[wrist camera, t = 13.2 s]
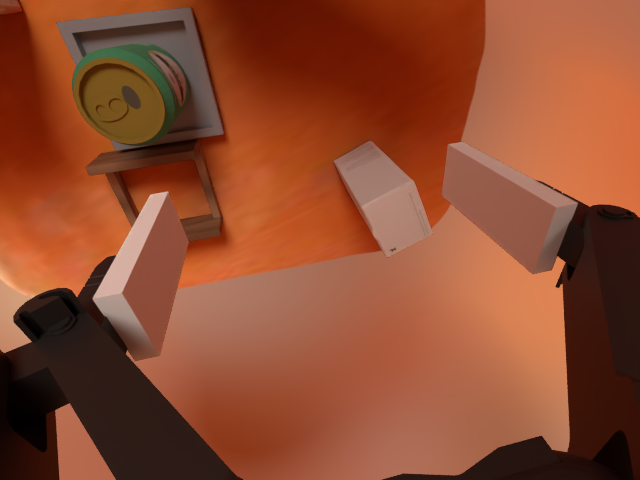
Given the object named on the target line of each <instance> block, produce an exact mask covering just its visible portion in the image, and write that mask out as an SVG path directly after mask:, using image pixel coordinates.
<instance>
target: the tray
mask: <svg viewBox="0 0 640 480" xmlns="http://www.w3.org/2000/svg"><path fill="white" fill-rule="evenodd" d="M56 24H57V26H58V28H59V30H60V33H61V35H62V37H63V39H64V41H65V43H66V45H67V48H68V50H69V52H70V54H71V56H72V58H73V60H74V63H75V65H76V66H77V65H78V63H79V62H80V60H81V59H83V58H84V57H85V56H86V55H88V54H89V53H91V52H93V51H96V50H99V49H104V48H110V47H115V46H121V45H127V44H132V43H149V44H153V45H155V46H158V47H160V48H162V49H164V50H165V51H167V52H168V53H170V54H171V55H172V56H173V57H174V58H175V59H176V60H177V61H178V62H179V64H180V65H181V67H182V68H183V70H184V72H185V74H186V76H187V80H188V84H189V98H188V102H187V105H186V106H185V108H184V110H183V111H182V113H181V114H180V115H179V117H178V118H177V120H176V121H175V122H174V124H173V125H172V127H171V128H170V130H169V131H168V132H167V133H166V134H165V136H163V137H162V138H161V139H160V140H158V141H156V142H154V143H151V144H148V145H143V146H131V145H125V144H121V143H118V142H115V141H113V140H111V139H110V140H111V142H112V144H113V147H114V149H115V151H118V150H124V149H131V148H137V147H144V146H150V145H157V144H163V143H170V142H176V141H183V140H189V139H196V138H202V137H209V136H215V135H222V134H224V127H223V123H222V119H221V116H220V112H219V108H218V104H217V100H216V96H215V93H214V89H213V85H212V81H211V77H210V74H209V70H208V66H207V62H206V58H205V54H204V51H203V47H202V43H201V39H200V35H199V32H198V28H197V24H196V20H195V16H194V12H193V9H192V8H191V7H186V8H178V9H169V10H160V11H151V12H142V13H133V14H124V15H116V16H107V17H98V18H89V19H80V20H71V21H62V22H56Z"/></svg>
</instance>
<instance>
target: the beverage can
mask: <svg viewBox="0 0 640 480" xmlns="http://www.w3.org/2000/svg"><path fill="white" fill-rule="evenodd" d="M72 90H73V96H74V99H75V102H76V105H77V107H78V109H79V111H80V113H81V115H82V116H83V118H84V119H85V120H86V121H87V123H88V124H89V125H90V126H91V127H92V128H93V129H95V130H96V131H97V132H98V133H100V134H101V135H103V136H105V137H107V138H108V139H111V140H113V141H115V142H118V143H121V144H125V145H131V146H143V145H148V144H151V143H154V142H156V141H158V140H160V139H161V138H162V137H163V136H165V134H166V133H167V132H168V131H169V130H170V128H171V127H172V125H173V124H174V122H175V121H176V120H177V118H178V117H179V115H180V114H181V113H182V111H183V110H184V108H185V106H186V105H187V102H188V98H189V84H188V80H187V76H186V74H185V72H184V70H183V68H182V67H181V65H180V64H179V62H178V61H177V60H176V59H175V58H174V57H173V56H172V55H171V54H170V53H168V52H167V51H165V50H164V49H162V48H160V47H158V46H155V45H153V44H149V43H132V44H127V45H121V46H115V47H110V48H104V49H99V50H96V51H93V52H91V53H89V54H88V55H86V56H85V57H84V58H83V59H81V60H80V62H79V63H78V65H77V66H76V68H75V71H74V73H73V79H72Z"/></svg>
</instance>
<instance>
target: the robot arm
mask: <svg viewBox="0 0 640 480" xmlns="http://www.w3.org/2000/svg"><path fill="white" fill-rule="evenodd" d="M442 196H443V197H444V198H445V199H446V200H447V201H448V202H450V203H451V204H452V205H453V206H454V207H455V208H457V209H458V210H459V211H460V212H461V213H462V214H463V215H465V216H466V217H467V218H468V219H469V220H470V221H472V222H473V223H474V224H475V225H476V226H477V227H479V228H480V229H481V230H482V231H483V232H484V233H485V234H487V235H488V236H489V237H490V238H491V239H493V240H494V241H495V242H496V243H497V244H498V245H499V246H500V247H502V248H503V249H504V250H506V252H507V253H509V254H510V255H511V256H512V257H513V258H514V259H516V260H517V261H518V262H519V263H520V264H521V265H523V266H524V267H525V268H526V269H527V270H528V271H529V272H531V273H532V274H536V273H541V272H545V271H550V270H552V268H553V266H554V263H555V261H556V258H557V256H559V257H560V258H561V259H562V260H564V261H565V262H566V263H565V265H564V268H563V270H562V272H561V275H560V277H559V279H558V282H557V284H556V287H557V288H559V287H560V285H561V284H563V298H564V299H563V301H564V321H565V343H566V363H567V385H568V406H569V426H570V442H569V448H568V452H562V451H556V450H552V449H551V448H550V446H549V445H548V444H547V442H546V441H545V440H544V438H543V437H542V436H539V437H535V438H531V439H528V440H524V441H521V442H517V443H514V444H510V445H506V446H502V447H499V448H497V449H496V450H494V451H493V452H492V453H490V454H489V455H487V456H486V457H485V458H483V459H482V460H480V461H479V462H478V463H476V464H475V465H474V466H472V467H471V468H469V469H468V470H467V471H465V472H464V473H462V474H460V475H455V476H451V475H450V476H449V475H423V474H401V475H397V476H393V477H390V478H386V479H383V480H640V218H639V217H638V216H637V215H636V214H635V213H633V212H631V211H629V210H627V209H624V208H621V207H618V206H612V205H593V206H591V207H589V206H587V205H585V204H583V203H581V202H580V201H578V200H576V199H574V198H572V197H570V196H568V195H566V194H564V193H563V194H562V192H561V191H559V190H557V189H553V187H551V186H549V185H547V184H545V183H543V182H541V181H537V180H534V179H532V178H530V177H528V176H526V175H524V174H522V173H521V172H519V171H517V170H515V169H513V168H511V167H509V166H507V165H506V164H504V163H502V162H500V161H498V160H496V159H494V158H492V157H491V156H489V155H487V154H485V153H483V152H481V151H479V150H477V149H476V148H474V147H472V146H470V145H468V144H466V143H464V142H458V143H452V144H448V148H447V156H446V164H445V172H444V180H443V188H442ZM188 244H189V241H188V239H187V236H186V234H185V231H184V229H183V226H182V224H181V221H180V219H179V216H178V214H177V211H176V209H175V206H174V204H173V201H172V199H171V196H170V194H169V191H168V192H162V193H156V194H150V196H149V198H148V200H147V202H146V203H145V205H144V207H143V209H142V211H141V212H140V214H139V216H138V218H137V220H136V221H135V223H134V225H133V227H132V229H131V230H130V232H129V234H128V236H127V238H126V239H125V241H124V243H123V245H122V247H121V248H120V250H119V252H118V254H117V255H116V256H110V257H107V258H106V259H104V260H103V261H102V262H101V263H100V264H99V265H97V266H96V268H95V269H94V271H93V272H92V274H91V276H90V279H88V281H87V282H86V284H85V287H83V289H82V290H81V292H80V294H79V295H78V297H76V296H75V294H74V293H73V291H72V290H70V289H68V288H57V289H53V290H49V291H46V292H44V293H41V294H39V295H37V296H35V297H33V298H32V299H30V300H29V301H27V302H26V303H24V305H22V306H21V307H20V308H19V309H18V310H17V312H16V313H15V315H14V317H13V318H14V323H15V324H16V325H17V326H18V327H19V328H20V329H21V330H22V331H23V332H24V334H25V335H26V336H27V337H28V338H29V339H30V340H31V341H32V342H31V343H28V344H26V345H24V346H21V347H18V348H16V349H14V350H11V351H9V352H6V353H3V352H2V351H1V350H0V480H59V466H58V450H57V433H56V416H55V410H56V409H58V408H60V407H62V406H64V405H66V404H69V403H70V404H71V406H72V408H73V409H74V411H75V413H76V414H77V416H78V418H79V419H80V421H81V422H82V424H83V426H84V427H85V429H86V431H87V432H88V434H89V436H90V437H91V439H92V440H93V442H94V444H95V446H96V447H97V449H98V450H99V452H100V454H101V456H102V457H103V459H104V460H105V462H106V464H107V465H108V467H109V469H110V470H111V472H112V474H113V475H114V477H115V479H116V480H243V479H242V478H240V477H237V476H236V475H235V474H234V473H233V472H232V471H231V470H230V469H229V468H228V466H227V465H226V464H225V463H224V462H223V461H222V460H221V459H220V458H219V457H218V455H217V454H216V453H215V452H214V451H213V450H212V449H211V448H210V446H209V445H207V443H206V442H205V441H204V440H203V439H202V438H201V437H200V436H199V434H198V433H197V432H196V431H195V430H194V429H193V428H192V427H191V426H190V425H189V424H188V422H187V421H186V420H185V419H184V418H183V417H182V416H181V415H180V414H179V412H178V411H177V410H176V409H175V408H174V407H173V406H172V405H171V404H170V402H169V401H168V400H167V399H166V398H165V397H164V396H163V395H162V394H161V393H160V391H159V390H158V389H157V388H156V387H155V386H154V385H153V384H152V383H151V382H150V380H149V379H147V377H146V376H145V375H144V374H143V373H142V372H141V370H140V369H139V368H138V367H137V366H136V365H135V364H134V363H133V362H132V361H131V359H130V358H129V357H128V356H127V355H126V352H127V350H128V352H129V353H130V355H131V356H132V357H133V359H134V360H135V361H138V360H143V359H147V358H152V357H157V356H160V353H161V349H162V345H163V341H164V338H165V334H166V330H167V326H168V322H169V318H170V314H171V310H172V306H173V303H174V298H175V295H176V291H177V287H178V283H179V279H180V275H181V271H182V268H183V264H184V260H185V256H186V252H187V248H188Z"/></svg>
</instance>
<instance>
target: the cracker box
mask: <svg viewBox="0 0 640 480" xmlns="http://www.w3.org/2000/svg"><path fill="white" fill-rule="evenodd" d="M22 11H23V10H22V8H21V5H20V4H19V2H18V0H0V15H2V14H9V13H17V12H22Z"/></svg>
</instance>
